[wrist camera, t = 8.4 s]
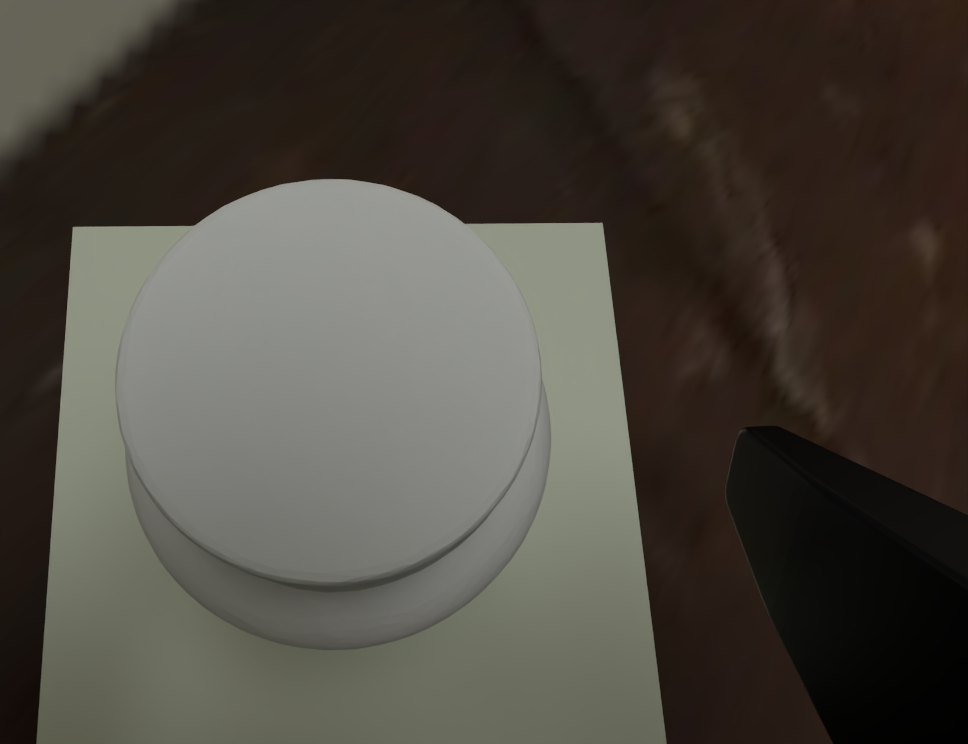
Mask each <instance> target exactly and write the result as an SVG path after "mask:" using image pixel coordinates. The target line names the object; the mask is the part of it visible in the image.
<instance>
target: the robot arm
mask: <svg viewBox="0 0 968 744" xmlns="http://www.w3.org/2000/svg"><path fill="white" fill-rule="evenodd" d="M725 496H726V502H727V506H728V509H729V512H730V514H731V517H732V520H733V522H734V525H735V528H736V530H737V533H738V536H739V539H740V541H741V544H742V547H743V549H744V552H745V555H746V557H747V560H748V563H749V565H750V568H751V571H752V573H753V576H754V579H755V581H756V584H757V587H758V589H759V592H760V595H761V597H762V600H763V602H764V605H765V607H766V610H767V612H768V614H769V617H770V619H771V621H772V623H773V625H774V627H775V630H776V632H777V634H778V636H779V638H780V640H781V642H782V644H783V646H784V648H785V650H786V652H787V654H788V656H789V658H790V660H791V662H792V663H793V665H794V667H795V669H796V671H797V673H798V675H799V677H800V679H801V681H802V683H803V685H804V687H805V689H806V691H807V693H808V695H809V697H810V699H811V701H812V703H813V705H814V707H815V709H816V711H817V713H818V715H819V717H820V719H821V721H822V723H823V725H824V727H825V729H826V731H827V733H828V735H829V737H830V738H831V740H832V742H833V744H968V515H966V514H964V513H962V512H959V511H957V510H955V509H953V508H951V507H949V506H947V505H945V504H942V503H940V502H938V501H936V500H934V499H932V498H930V497H928V496H925V495H923V494H921V493H919V492H917V491H915V490H913V489H911V488H908V487H906V486H904V485H902V484H900V483H898V482H896V481H894V480H891V479H889V478H887V477H885V476H883V475H881V474H879V473H876V472H874V471H872V470H870V469H868V468H866V467H864V466H862V465H859V464H857V463H855V462H853V461H851V460H849V459H847V458H845V457H842V456H840V455H838V454H836V453H834V452H832V451H830V450H828V449H825V448H823V447H821V446H819V445H817V444H815V443H813V442H811V441H808V440H806V439H804V438H802V437H800V436H798V435H796V434H794V433H791V432H789V431H787V430H785V429H783V428H781V427H778V426H756V427H745V428H744V429H742V430H741V431H740V432H739V434H738V435H737V438H736V441H735V446H734V450H733V454H732V459H731V463H730V468H729V472H728V476H727V481H726V487H725Z"/></svg>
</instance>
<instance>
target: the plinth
mask: <svg viewBox="0 0 968 744" xmlns="http://www.w3.org/2000/svg"><path fill="white" fill-rule="evenodd" d="M465 225H466V226H468V227H469V228H470V229H471V230H473V231H474V232H475V233H476V234H477V235H478V236H479V237H480V238H481V239H482V240H483V241H484V242H485V243H486V244H487V245H488V246H490V247H491V249H492V250H493V251H494V252H495V253H496V254H497V256H498V257H499V258H500V259H501V261H502V262H503V264H504V265H505V266H506V268H507V269H508V270H509V272H510V274H511V275H512V277H513V279H514V281H515V282H516V284H517V286H518V288H519V289H520V291H521V293H522V295H523V297H524V299H525V302H526V305H527V307H528V310H529V312H530V315H531V318H532V321H533V323H534V327H535V332H536V336H537V340H538V345H539V351H540V357H541V370H542V380H543V383H544V387H545V391H546V395H547V401H548V407H549V414H550V425H551V452H550V463H549V470H548V475H547V480H546V485H545V489H544V493H543V497H542V500H541V503H540V506H539V508H538V511H537V514H536V517H535V519H534V521H533V523H532V525H531V527H530V529H529V531H528V533H527V535H526V537H525V539H524V541H523V542H522V544H521V546H520V547H519V549H518V550H517V552H516V553H515V555H514V556H513V558H512V559H511V560H510V562H509V563H508V564H507V565H506V566H505V568H504V569H503V570H502V571H501V572H500V573H499V575H498V576H497V577H496V578H495V579H494V580H493V581H492V582H491V583H490V584H489V585H488V586H487V587H486V588H485V589H484V590H483V591H482V592H481V593H480V594H479V595H478V596H477V597H475V598H474V599H473V600H472V601H470V602H469V603H468V604H467V605H466V606H464V607H463V608H461V609H460V610H458V611H457V612H455V613H454V614H453V615H451V616H450V617H448V618H447V619H445V620H443V621H441V622H439V623H438V624H436V625H434V626H432V627H430V628H428V629H426V630H423V631H421V632H419V633H417V634H414V635H412V636H409V637H406V638H403V639H400V640H397V641H393V642H389V643H386V644H382V645H376V646H371V647H365V648H360V649H348V650H318V649H309V648H299V647H294V646H289V645H284V644H279V643H275V642H272V641H269V640H266V639H263V638H260V637H257V636H255V635H252V634H250V633H247V632H245V631H242V630H240V629H238V628H237V627H235V626H233V625H231V624H229V623H227V622H226V621H224V620H222V619H221V618H219V617H218V616H216V615H215V614H213V613H212V612H210V611H209V610H207V609H206V608H204V607H203V606H202V605H200V604H199V603H198V602H197V601H196V600H195V599H194V598H192V597H191V596H190V595H189V594H188V593H187V592H186V591H185V590H184V589H183V588H182V587H181V586H180V585H179V584H178V583H177V582H176V581H175V579H174V578H173V577H172V576H171V575H170V573H169V572H168V571H167V570H166V569H165V567H164V566H163V565H162V563H161V562H160V561H159V559H158V557H157V556H156V554H155V552H154V550H153V549H152V547H151V545H150V543H149V541H148V540H147V538H146V536H145V534H144V532H143V530H142V527H141V525H140V522H139V520H138V517H137V515H136V512H135V509H134V505H133V501H132V497H131V493H130V489H129V485H128V477H127V469H126V462H125V445H124V442H123V439H122V436H121V432H120V429H119V422H118V415H117V406H116V395H115V371H116V363H117V354H118V348H119V344H120V340H121V335H122V332H123V330H124V327H125V324H126V321H127V318H128V315H129V312H130V309H131V307H132V305H133V303H134V301H135V299H136V297H137V295H138V293H139V290H140V289H141V287H142V286H143V284H144V283H145V281H146V279H147V278H148V276H149V275H150V273H151V272H152V270H153V269H154V268H155V266H156V265H157V264H158V262H159V261H160V260H161V258H162V257H163V256H164V255H165V254H166V252H167V251H168V250H169V249H170V248H171V247H172V246H173V245H174V244H175V243H176V242H177V241H178V240H179V239H180V238H181V237H182V236H183V235H184V234H186V233H187V232H188V231H189V230H190V229H191V228H193V227H194V226H145V227H73V235H72V249H71V263H70V277H69V292H68V306H67V320H66V334H65V348H64V362H63V376H62V390H61V404H60V418H59V433H58V447H57V461H56V475H55V489H54V503H53V517H52V531H51V545H50V559H49V574H48V588H47V602H46V616H45V630H44V644H43V658H42V672H41V686H40V700H39V715H38V729H37V743H36V744H667V743H666V735H665V727H664V719H663V711H662V702H661V694H660V686H659V678H658V670H657V662H656V654H655V646H654V637H653V629H652V621H651V613H650V605H649V597H648V589H647V581H646V572H645V564H644V556H643V548H642V540H641V532H640V524H639V516H638V507H637V499H636V491H635V483H634V475H633V467H632V459H631V451H630V442H629V434H628V426H627V418H626V410H625V402H624V394H623V386H622V377H621V369H620V361H619V353H618V345H617V337H616V329H615V321H614V312H613V304H612V296H611V288H610V280H609V272H608V264H607V256H606V247H605V239H604V231H603V223H545V224H465Z"/></svg>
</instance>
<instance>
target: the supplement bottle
mask: <svg viewBox="0 0 968 744" xmlns="http://www.w3.org/2000/svg"><path fill="white" fill-rule="evenodd" d="M115 395H116V406H117V415H118V422H119V429H120V432H121V436H122V439H123V442H124V445H125V462H126V469H127V477H128V485H129V489H130V493H131V497H132V501H133V505H134V509H135V512H136V515H137V517H138V520H139V522H140V525H141V527H142V530H143V532H144V534H145V536H146V538H147V540H148V541H149V543H150V545H151V547H152V549H153V550H154V552H155V554H156V556H157V557H158V559H159V561H160V562H161V563H162V565H163V566H164V567H165V569H166V570H167V571H168V572H169V573H170V575H171V576H172V577H173V578H174V579H175V581H176V582H177V583H178V584H179V585H180V586H181V587H182V588H183V589H184V590H185V591H186V592H187V593H188V594H189V595H190V596H191V597H192V598H194V599H195V600H196V601H197V602H198V603H199V604H200V605H202V606H203V607H204V608H206V609H207V610H209V611H210V612H212V613H213V614H215V615H216V616H218V617H219V618H221V619H222V620H224V621H226V622H227V623H229V624H231V625H233V626H235V627H237V628H238V629H240V630H242V631H245V632H247V633H250V634H252V635H255V636H257V637H260V638H263V639H266V640H269V641H272V642H275V643H279V644H284V645H289V646H294V647H299V648H309V649H318V650H348V649H360V648H365V647H371V646H376V645H382V644H386V643H389V642H393V641H397V640H400V639H403V638H406V637H409V636H412V635H414V634H417V633H419V632H421V631H423V630H426V629H428V628H430V627H432V626H434V625H436V624H438V623H439V622H441V621H443V620H445V619H447V618H448V617H450V616H451V615H453V614H454V613H455V612H457V611H458V610H460V609H461V608H463V607H464V606H466V605H467V604H468V603H469V602H470V601H472V600H473V599H474V598H475V597H477V596H478V595H479V594H480V593H481V592H482V591H483V590H484V589H485V588H486V587H487V586H488V585H489V584H490V583H491V582H492V581H493V580H494V579H495V578H496V577H497V576H498V575H499V573H500V572H501V571H502V570H503V569H504V568H505V566H506V565H507V564H508V563H509V562H510V560H511V559H512V558H513V556H514V555H515V553H516V552H517V550H518V549H519V547H520V546H521V544H522V542H523V541H524V539H525V537H526V535H527V533H528V531H529V529H530V527H531V525H532V523H533V521H534V519H535V517H536V514H537V511H538V508H539V506H540V503H541V500H542V497H543V493H544V489H545V485H546V480H547V475H548V470H549V463H550V452H551V425H550V414H549V407H548V401H547V395H546V391H545V387H544V383H543V380H542V370H541V357H540V351H539V345H538V340H537V336H536V332H535V327H534V323H533V321H532V318H531V315H530V312H529V310H528V307H527V305H526V302H525V299H524V297H523V295H522V293H521V291H520V289H519V288H518V286H517V284H516V282H515V281H514V279H513V277H512V275H511V274H510V272H509V270H508V269H507V268H506V266H505V265H504V264H503V262H502V261H501V259H500V258H499V257H498V256H497V254H496V253H495V252H494V251H493V250H492V249H491V247H490V246H488V245H487V244H486V243H485V242H484V241H483V240H482V239H481V238H480V237H479V236H478V235H477V234H476V233H475V232H474V231H473V230H471V229H470V228H469V227H468V226H466V225H465V224H464V223H462V222H461V221H460V220H459V219H457V218H456V217H454V216H453V215H451V214H450V213H448V212H447V211H445V210H443V209H442V208H440V207H439V206H437V205H435V204H433V203H431V202H429V201H427V200H425V199H423V198H421V197H418V196H416V195H413V194H410V193H407V192H404V191H401V190H398V189H395V188H392V187H389V186H385V185H380V184H374V183H368V182H363V181H355V180H341V179H323V180H309V181H302V182H295V183H288V184H281V185H278V186H275V187H272V188H268V189H264V190H261V191H258V192H255V193H253V194H250V195H248V196H245V197H243V198H240V199H238V200H236V201H234V202H232V203H230V204H227V205H225V206H223V207H222V208H220V209H219V210H217V211H215V212H214V213H212V214H211V215H209V216H208V217H206V218H205V219H203V220H202V221H201V222H199V223H198V224H197V225H195V226H194V227H193V228H191V229H190V230H189V231H188V232H187V233H186V234H184V235H183V236H182V237H181V238H180V239H179V240H178V241H177V242H176V243H175V244H174V245H173V246H172V247H171V248H170V249H169V250H168V251H167V252H166V254H165V255H164V256H163V257H162V258H161V260H160V261H159V262H158V264H157V265H156V266H155V268H154V269H153V270H152V272H151V273H150V275H149V276H148V278H147V279H146V281H145V283H144V284H143V286H142V287H141V289H140V290H139V293H138V295H137V297H136V299H135V301H134V303H133V305H132V307H131V309H130V312H129V315H128V318H127V321H126V324H125V327H124V330H123V332H122V335H121V340H120V344H119V348H118V354H117V363H116V371H115Z"/></svg>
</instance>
